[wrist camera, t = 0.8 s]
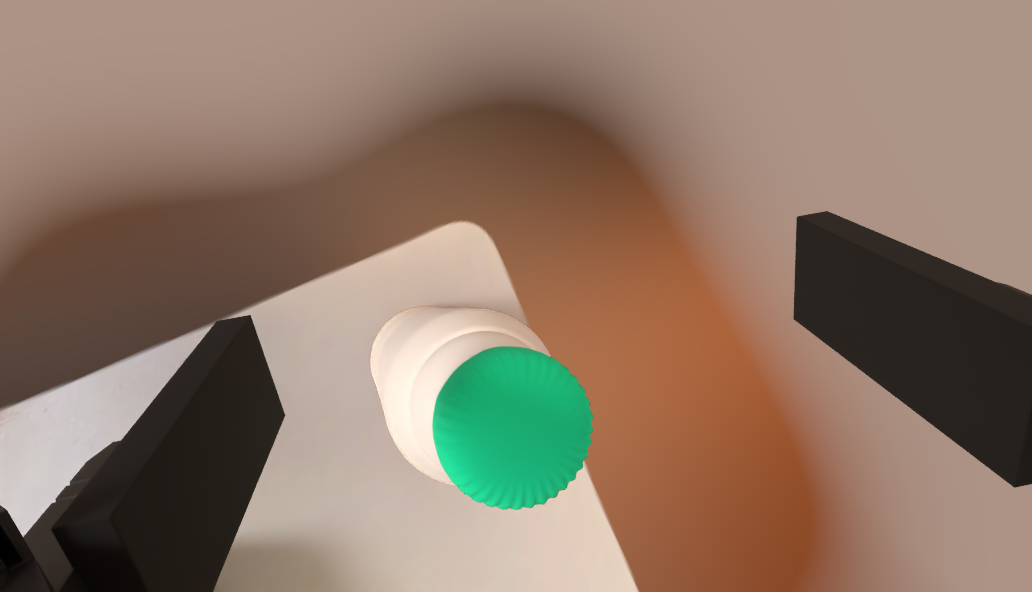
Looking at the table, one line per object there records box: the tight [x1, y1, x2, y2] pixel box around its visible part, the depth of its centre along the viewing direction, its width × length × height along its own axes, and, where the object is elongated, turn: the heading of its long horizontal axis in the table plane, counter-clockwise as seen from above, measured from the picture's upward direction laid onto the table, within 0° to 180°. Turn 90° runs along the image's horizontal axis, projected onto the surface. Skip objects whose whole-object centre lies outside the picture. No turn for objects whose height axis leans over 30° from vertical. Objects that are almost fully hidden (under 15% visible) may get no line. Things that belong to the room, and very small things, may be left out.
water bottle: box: [371, 306, 593, 510], centre depth 29 cm, size 7×7×25 cm
